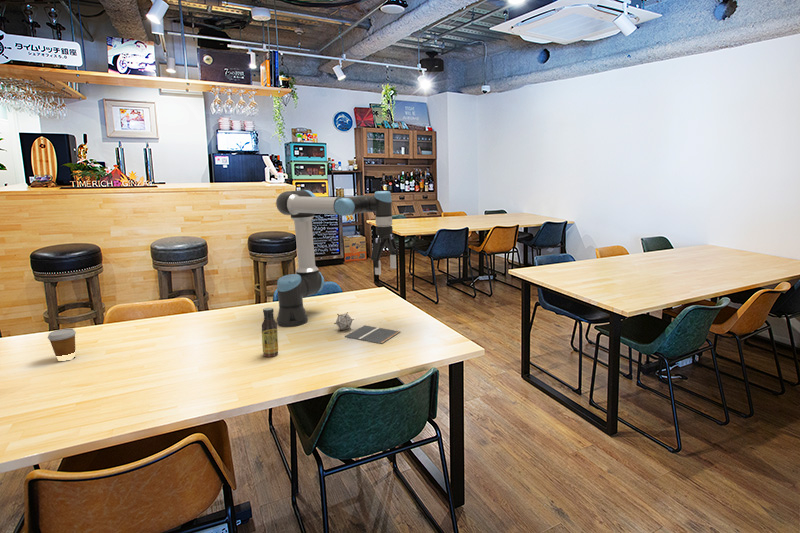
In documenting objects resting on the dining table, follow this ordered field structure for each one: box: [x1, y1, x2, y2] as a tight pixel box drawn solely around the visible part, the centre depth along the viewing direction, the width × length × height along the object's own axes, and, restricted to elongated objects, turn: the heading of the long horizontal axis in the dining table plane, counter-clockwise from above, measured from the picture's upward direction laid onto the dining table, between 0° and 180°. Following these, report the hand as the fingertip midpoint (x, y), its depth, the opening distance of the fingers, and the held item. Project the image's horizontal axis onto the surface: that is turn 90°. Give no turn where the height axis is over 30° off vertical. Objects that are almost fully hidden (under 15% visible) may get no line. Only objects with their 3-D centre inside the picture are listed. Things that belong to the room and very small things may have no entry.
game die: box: [333, 312, 355, 332], centre depth 215 cm, size 9×8×10 cm
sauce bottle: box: [261, 307, 279, 358], centre depth 186 cm, size 7×6×20 cm
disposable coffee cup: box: [47, 328, 77, 357], centre depth 190 cm, size 10×10×12 cm
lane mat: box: [344, 325, 402, 345], centre depth 208 cm, size 20×16×1 cm
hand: (385, 271), depth 211 cm, fingers open, 13 cm apart
